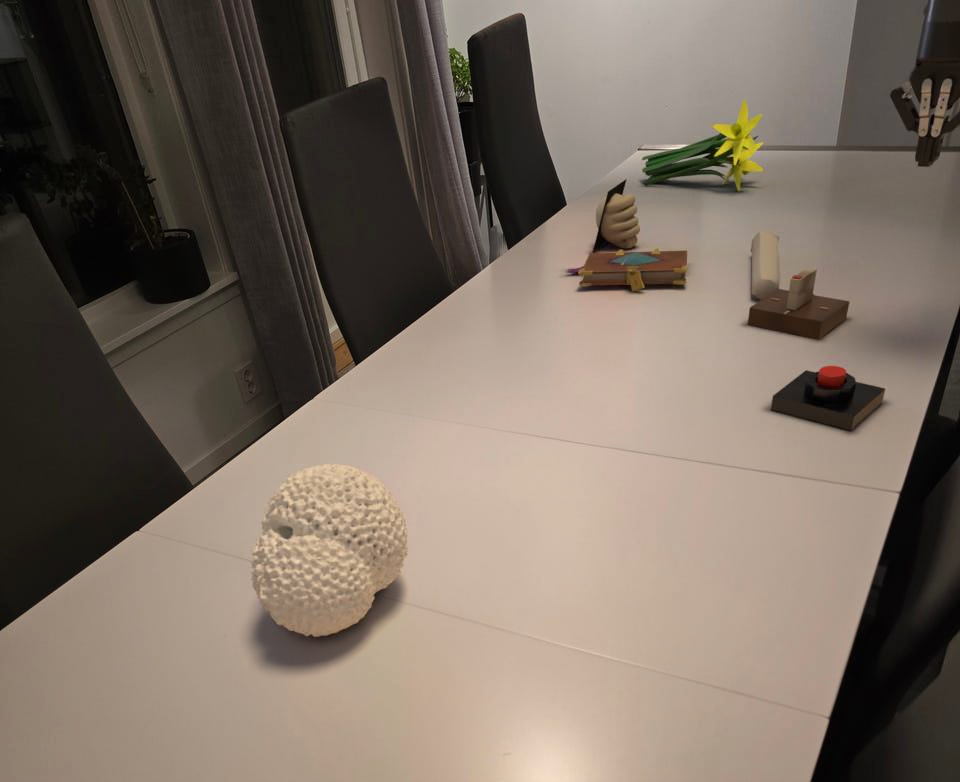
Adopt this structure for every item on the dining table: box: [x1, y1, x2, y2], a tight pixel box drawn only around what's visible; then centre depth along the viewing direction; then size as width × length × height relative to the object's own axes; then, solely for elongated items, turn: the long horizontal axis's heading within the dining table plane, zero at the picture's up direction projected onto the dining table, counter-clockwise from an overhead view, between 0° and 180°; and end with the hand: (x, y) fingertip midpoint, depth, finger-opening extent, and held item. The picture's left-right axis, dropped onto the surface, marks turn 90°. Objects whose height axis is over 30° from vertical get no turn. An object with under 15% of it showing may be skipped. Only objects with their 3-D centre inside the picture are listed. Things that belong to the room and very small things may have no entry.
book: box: [567, 248, 688, 292], centre depth 166 cm, size 16×25×5 cm, turn 77°
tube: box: [750, 230, 781, 301], centre depth 159 cm, size 5×5×25 cm
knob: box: [786, 267, 818, 310], centre depth 140 cm, size 6×2×5 cm, turn 137°
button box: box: [770, 369, 886, 432], centre depth 119 cm, size 12×10×4 cm
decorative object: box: [592, 178, 641, 253], centre depth 179 cm, size 13×10×10 cm
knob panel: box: [747, 288, 850, 340], centre depth 143 cm, size 13×10×3 cm
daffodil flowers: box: [641, 98, 764, 192], centre depth 206 cm, size 17×15×35 cm
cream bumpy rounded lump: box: [250, 463, 409, 638], centre depth 93 cm, size 20×18×16 cm
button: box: [817, 365, 847, 387], centre depth 118 cm, size 4×4×2 cm
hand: (925, 165), depth 118 cm, fingers closed
